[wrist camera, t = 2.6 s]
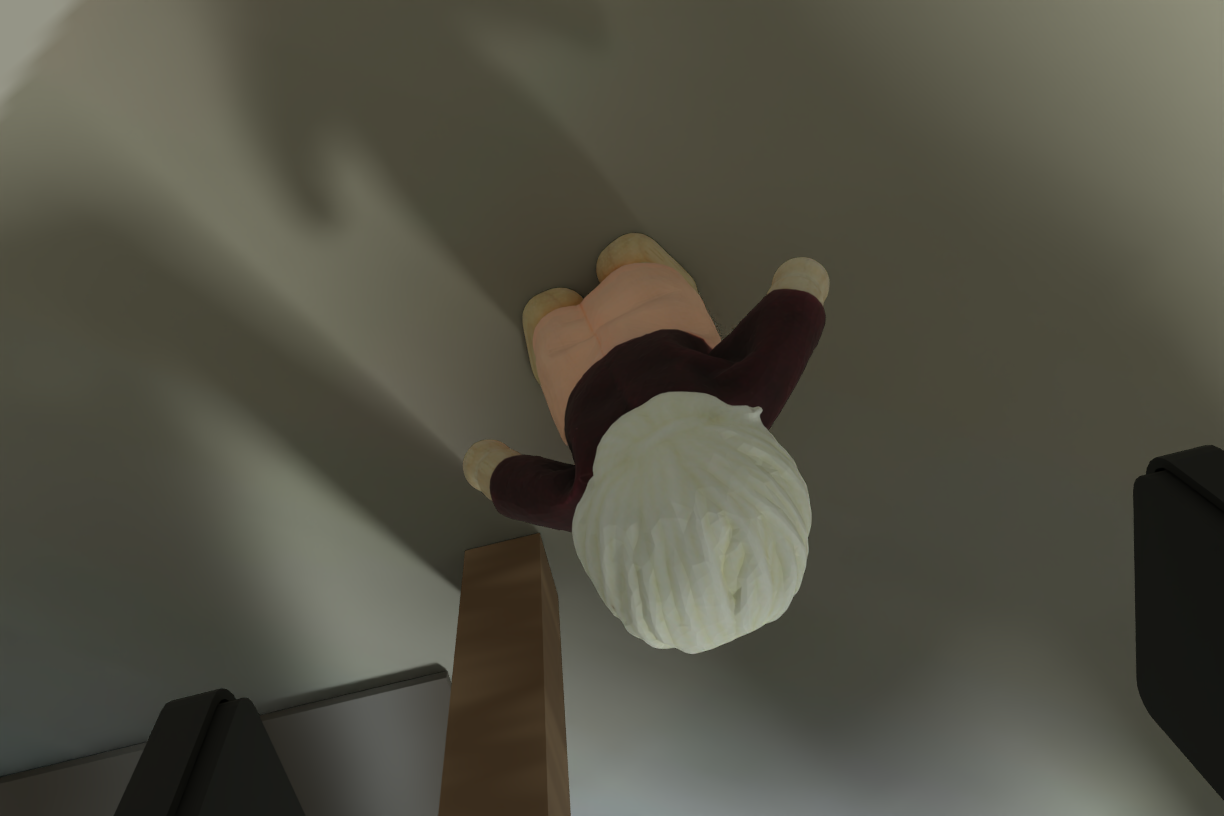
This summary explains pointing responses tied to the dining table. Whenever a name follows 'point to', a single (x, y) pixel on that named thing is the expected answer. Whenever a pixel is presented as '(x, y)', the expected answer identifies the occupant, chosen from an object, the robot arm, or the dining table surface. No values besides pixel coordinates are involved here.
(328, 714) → the frame
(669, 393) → the grandmother figurine
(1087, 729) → the dining table surface
